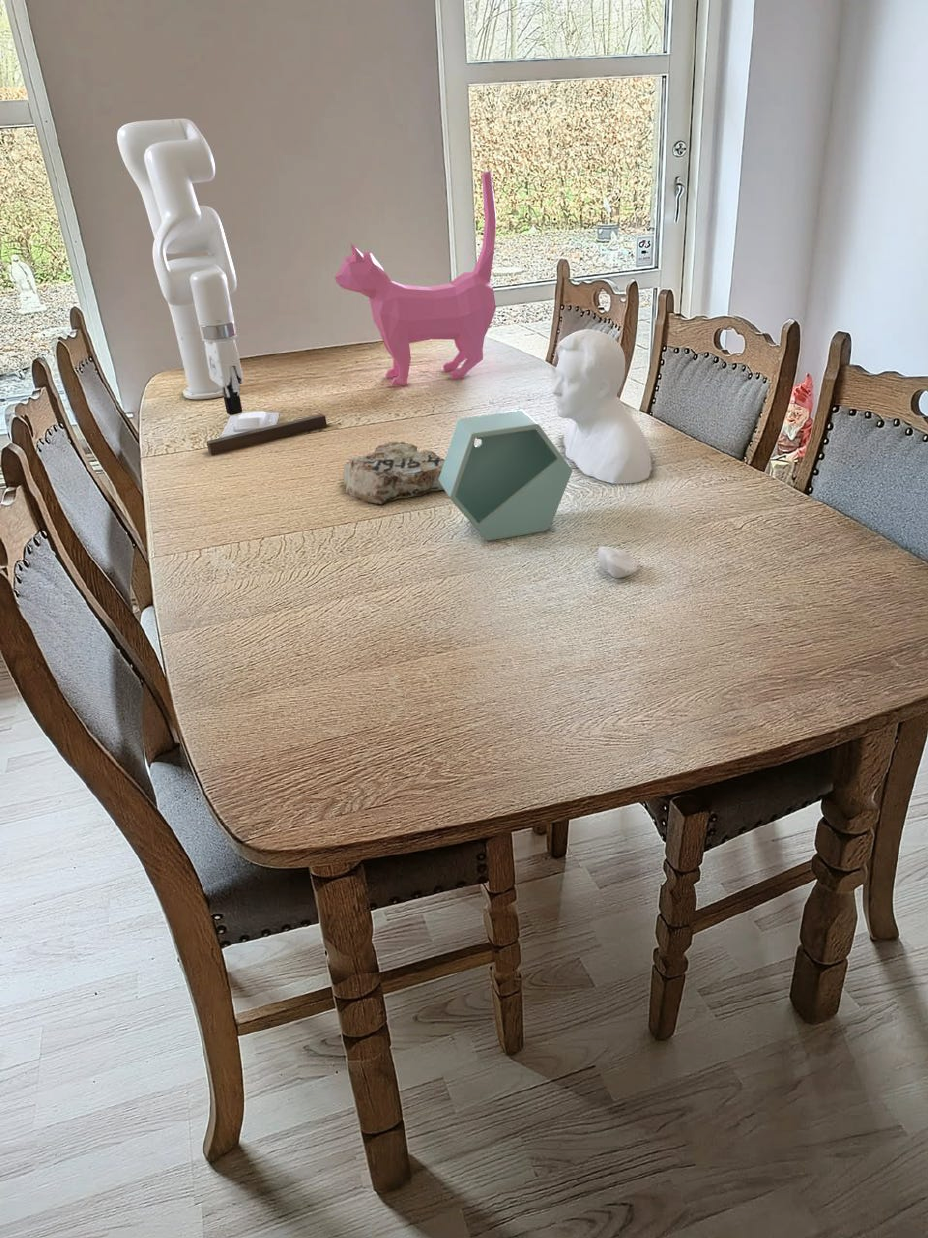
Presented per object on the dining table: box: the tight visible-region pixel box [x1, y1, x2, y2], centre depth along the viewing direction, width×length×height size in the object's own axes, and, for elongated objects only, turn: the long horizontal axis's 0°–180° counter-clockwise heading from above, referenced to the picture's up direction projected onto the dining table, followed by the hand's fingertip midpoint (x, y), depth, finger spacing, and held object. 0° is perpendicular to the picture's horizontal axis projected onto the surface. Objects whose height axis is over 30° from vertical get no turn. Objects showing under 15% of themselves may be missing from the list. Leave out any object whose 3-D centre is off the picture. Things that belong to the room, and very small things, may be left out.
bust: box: [551, 328, 653, 485], centre depth 155 cm, size 28×19×24 cm
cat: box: [334, 170, 497, 387], centre depth 205 cm, size 13×39×45 cm, turn 104°
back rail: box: [205, 413, 328, 456], centre depth 182 cm, size 2×26×2 cm, turn 123°
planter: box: [438, 409, 573, 542], centre depth 133 cm, size 17×8×21 cm
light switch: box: [220, 410, 280, 438], centre depth 188 cm, size 11×4×13 cm
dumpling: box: [597, 545, 638, 579], centre depth 121 cm, size 7×5×4 cm
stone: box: [343, 441, 445, 505], centre depth 157 cm, size 19×6×25 cm
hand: (234, 412), depth 198 cm, fingers closed
